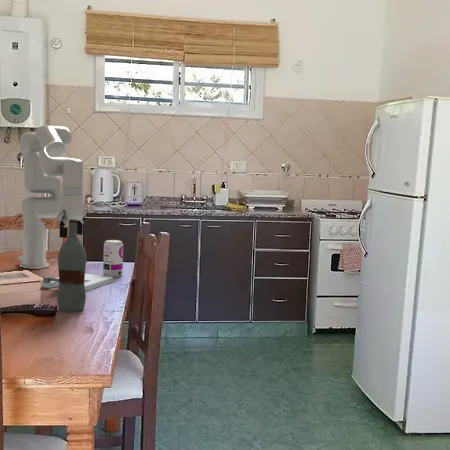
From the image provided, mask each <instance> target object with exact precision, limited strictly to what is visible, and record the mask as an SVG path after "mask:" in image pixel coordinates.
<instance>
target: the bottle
mask: <svg viewBox="0 0 450 450" xmlns="http://www.w3.org/2000/svg"><path fill="white" fill-rule="evenodd" d="M57 265H58V266H57V267H58V268H57V269H58V277H59V286H58V288H57V289H58V290H57V297H56V300H57V307H58V310H59V311H60V312H63V313H77V312H81V311H83V310H84V308H85V305H86V300H87V295H86V292H85V285H84V279H85V273H86V269H87V268H86V266H87V252H86V249H85V247H84V245H83V243H82V242H81V241H80V238H79V237H78V234H77V220H76V219H69V223H68V234H67V238H65V241H64V242H63V243H62V245H61V246H60V248H59V251H58V256H57Z"/></svg>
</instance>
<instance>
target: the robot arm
mask: <svg viewBox="0 0 450 450" xmlns="http://www.w3.org/2000/svg"><path fill="white" fill-rule="evenodd" d="M72 136H73V135H72V133H71V131H70V129H69V128H68V127H66V126H60V125H41V126H39V127H38V128H36V130H35V131H27V132H24V133H22V134H21V135H20V138H19V150H20V153H21V154H20V155H21V156H22V160H23V165H24V166H23V170H24V171H23V172H24V173H23V177H24V178H23V179H24V182H23V183H24V188H25V191H26V192H27V193H29V194H46V195H47V194H48V195H49V196H28V197H25V198H23V200H22V201H21V213H22V221H23V222H22V223H23V227H22V228H23V242H22V243H23V246H22V247H23V248H22V250H23V255H19V256H18V257H17V258H16V259H17V261H21V263H20V264H19V268H21V267H23V268H22V269H26V268H27V269H28V270H37V269H38V270H39V269H47V268H48V267H50V263H49V262H47V259H46V258H47V257H46V255H47V254H46V253H47V251H46V248H47V245H46V244H47V237H46V236H47V228H46V225H45V224H44V223H43V221H42V220H41V219H44V218H45V219H48V218H53V219H54V218H55V219H56V221H57V222H56V223H57V224H58V227H59V238H63V239H67V237H68V235H69V219H76V220H77V236H78V235H79V236H82V235H83V234H84V231H83V230H84V224H85V220H86V216H87V212H86V211H85V210H84V198H83V193H84V192H83V188H84V186H83V185H84V162H83V160H81V159H77V158H74V157H63V154H64V152H65V151H66V149H67V148H68V147H69V146H70V145H71V143H72V139H73V138H72ZM61 156H62V157H61ZM67 226H68V227H67Z"/></svg>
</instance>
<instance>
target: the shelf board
mask: <svg viewBox="0 0 450 450" xmlns="http://www.w3.org/2000/svg"><path fill="white" fill-rule="evenodd" d="M42 278H43V280H42V282H41V288H45V289H46V288H47V289H52V288H53V289H54V288H56V287H59V276H58V277H51V276H43V277H42ZM111 283H114V277H108V276H105V275H99V274H92V273H86V272H85V279H84V285H85V293H86V292H88V291H91V290H94V289H97V288H99V287H103V286H105V285H109V284H111Z"/></svg>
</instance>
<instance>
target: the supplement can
mask: <svg viewBox="0 0 450 450" xmlns="http://www.w3.org/2000/svg"><path fill="white" fill-rule="evenodd" d="M123 260H124V244H123V241H122V240H119V239H108V240H105V241H104V243H103V263H102V265H103V266H102V267H103V269H102V271H103V272H102V275H103V276H108V277H113V278H119V277H121V276H122V275H123V274H124V273H123V269H124V267H123V266H124V263H123V262H124V261H123Z"/></svg>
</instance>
